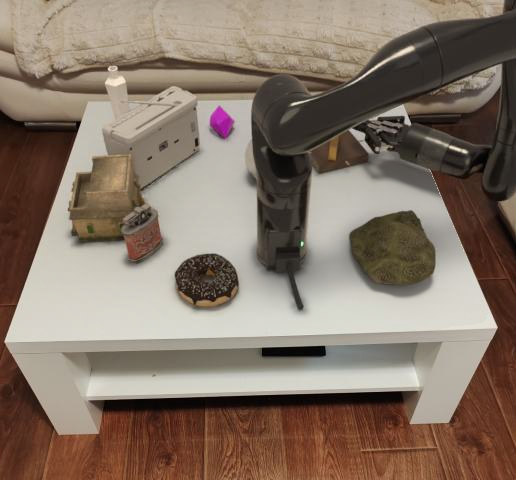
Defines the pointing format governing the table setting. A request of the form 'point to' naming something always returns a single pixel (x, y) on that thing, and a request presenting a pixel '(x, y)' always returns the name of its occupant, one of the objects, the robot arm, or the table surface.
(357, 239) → the decorative rock
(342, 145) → the panel
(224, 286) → the donut
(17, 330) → the table surface
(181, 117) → the radio
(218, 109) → the crystal
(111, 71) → the perfume bottle
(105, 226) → the miniature house
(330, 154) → the tan wooden flat block
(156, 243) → the lighter
